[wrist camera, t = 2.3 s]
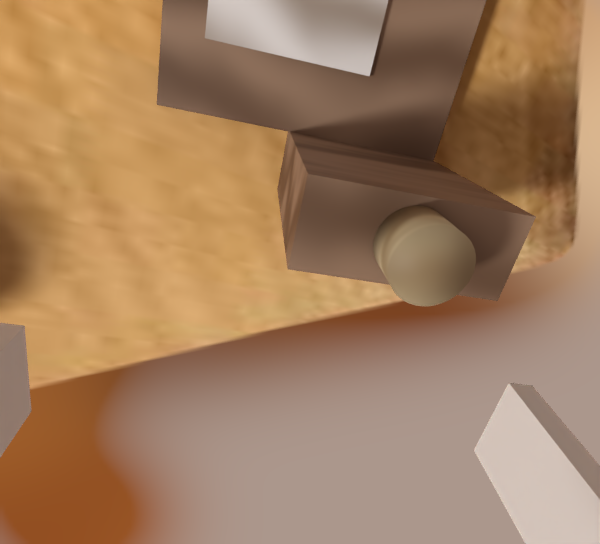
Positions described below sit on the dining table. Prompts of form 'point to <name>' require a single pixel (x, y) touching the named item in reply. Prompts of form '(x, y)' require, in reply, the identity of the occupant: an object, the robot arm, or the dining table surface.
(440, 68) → the brown l-shaped block
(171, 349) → the dining table surface
